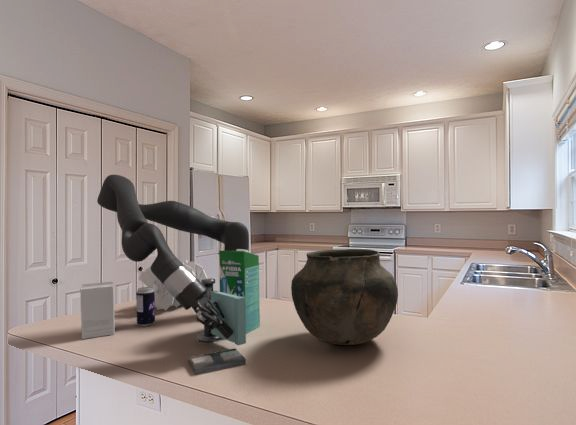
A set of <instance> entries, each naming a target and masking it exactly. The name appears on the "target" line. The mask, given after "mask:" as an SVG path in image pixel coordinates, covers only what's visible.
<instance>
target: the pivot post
mask: <svg viewBox="0 0 576 425" xmlns="http://www.w3.org/2000/svg"><path fill="white" fill-rule="evenodd" d="M201 283H202V284H203V285H204V286H205V287H206V288H207V292H206V294H205V295H204V296H205V297H207V298H208V299H209V300H211V291H214V284H215V283H216V279H215V278H212V277H211V278H208V279H202V280H201ZM221 339H222V338H221V337H218V336H216V335H213V334H211V329H210V328H209V327H207V326H205V325H203V332H200V333H199V334H197V336H196V341H197V342H199V343H200V342H202V343H213V342H217V341H219V340H221Z"/></svg>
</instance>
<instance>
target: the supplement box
mask: <svg viewBox="0 0 576 425" xmlns="http://www.w3.org/2000/svg"><path fill="white" fill-rule="evenodd" d="M114 288H115V287H114V283H113V281H108V282H97V283H96V282H95V283H84V284H82V285H81V288H80V290H79V291H80V320H81V321H80V322H81V324H80V326H81V328H80V329H81V340H86V339H92V338H99V337H105V336H111V335H115V331H116V330H115V329H116V328H115V322H116V321H115V291H114V290H115V289H114Z"/></svg>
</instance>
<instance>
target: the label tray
mask: <svg viewBox="0 0 576 425" xmlns="http://www.w3.org/2000/svg"><path fill="white" fill-rule="evenodd" d="M187 362H188V364H189V367H190V368H191V369H192V371H193V373H194V374H195V376H196V375H200V374H204V373H211V372H213V371H214V372H215V371H219V370H224V369H228V368H234V367H239V366H243V365H246V364H247V358H246V357H245V356H243V354H242V353H241V352H240V351H239V350H238V349H237V348H231V349H225V350H220V351H213V352H208V353H203V354H198V355H193V356H188V357H187Z"/></svg>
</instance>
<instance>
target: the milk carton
mask: <svg viewBox="0 0 576 425" xmlns="http://www.w3.org/2000/svg"><path fill="white" fill-rule="evenodd" d="M218 259H219V262H218V263H219V292H223V293H227V294H231V295H235V296H239V297H241V296H242V297H245V315H246V335H247V334H248V333H250V332H251V331H253V330H255V329H257V328H259V327H260V325H261V320H260V319H261V318H260V317H261V315H260V314H261V313H260V312H261V311H260V310H261V309H260V265H259V264H260V262H259V261H260V260H259V255H257V254H254V253H251V252H249V253H248V250H244V249H236V251H224V250H219V251H218Z"/></svg>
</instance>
